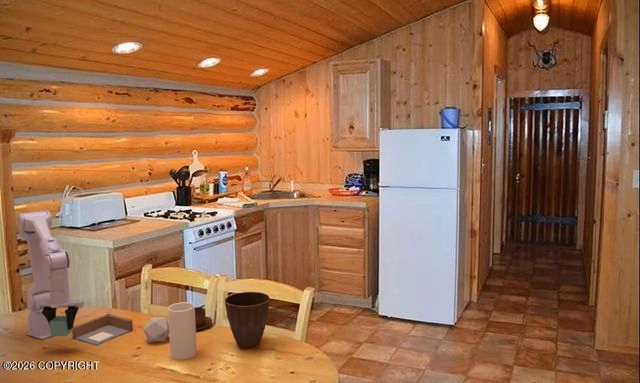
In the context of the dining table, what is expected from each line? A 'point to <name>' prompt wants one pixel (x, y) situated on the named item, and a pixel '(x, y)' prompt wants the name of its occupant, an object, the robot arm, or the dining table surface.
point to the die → (157, 329)
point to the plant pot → (247, 317)
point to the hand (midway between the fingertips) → (62, 328)
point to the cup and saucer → (201, 318)
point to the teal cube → (59, 326)
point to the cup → (182, 330)
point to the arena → (102, 329)
